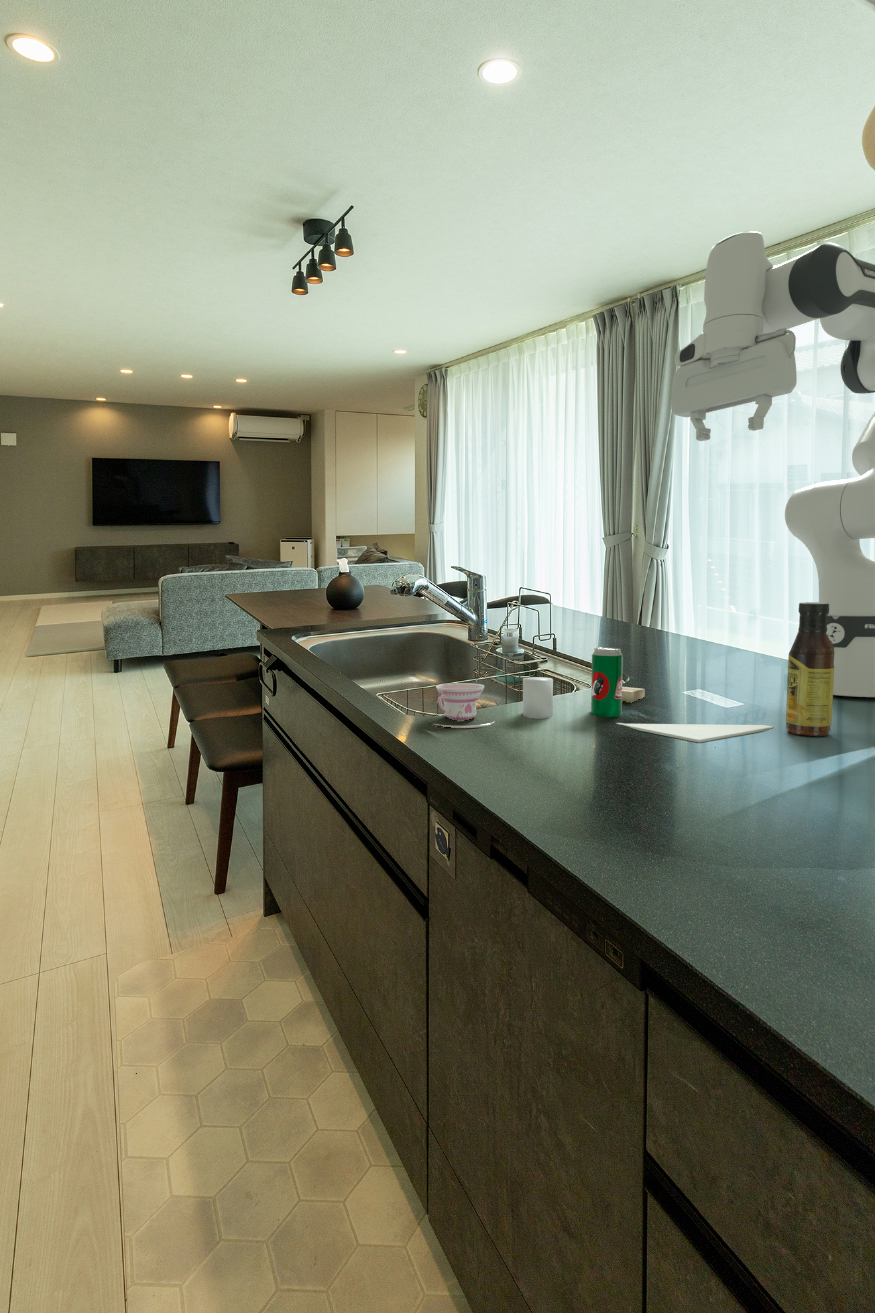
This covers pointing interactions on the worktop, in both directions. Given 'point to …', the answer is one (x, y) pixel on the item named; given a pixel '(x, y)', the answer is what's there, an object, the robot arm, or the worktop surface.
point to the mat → (698, 730)
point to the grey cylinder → (538, 697)
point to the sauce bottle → (810, 674)
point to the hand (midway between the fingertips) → (728, 434)
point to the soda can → (606, 682)
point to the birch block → (632, 694)
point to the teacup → (459, 702)
